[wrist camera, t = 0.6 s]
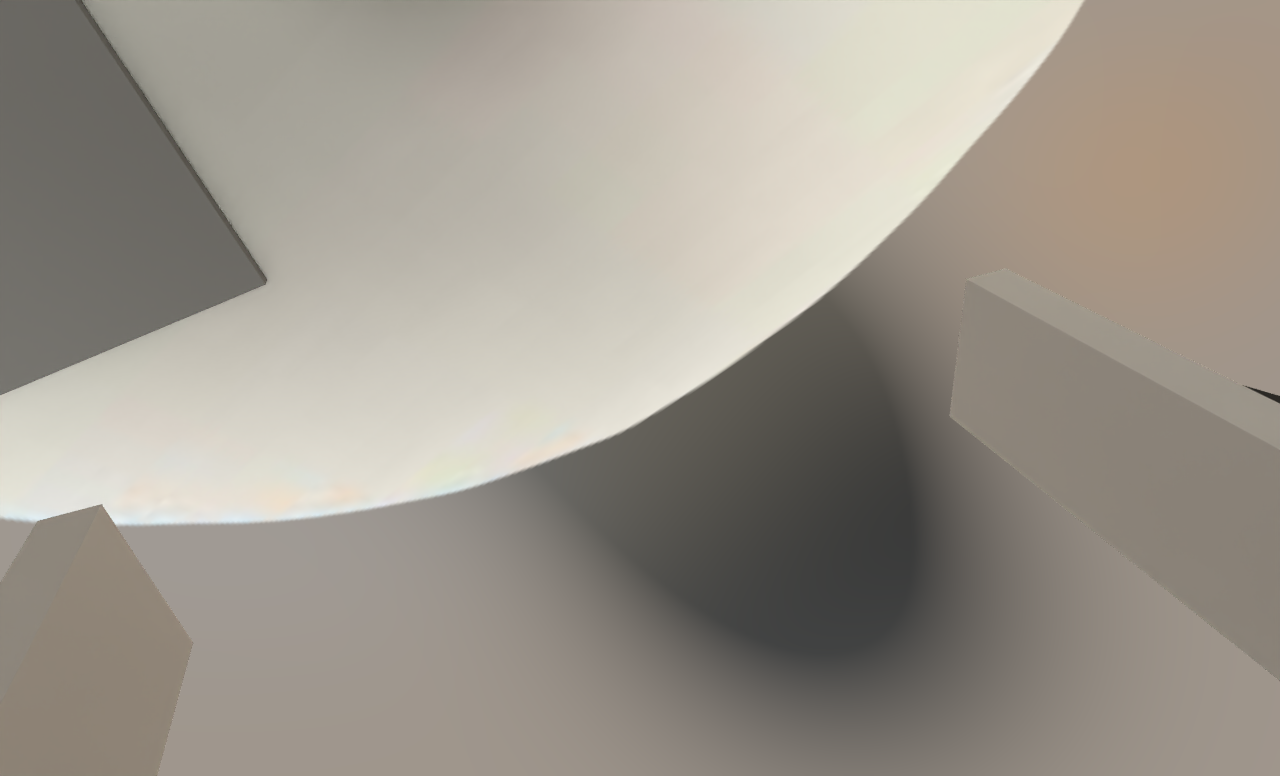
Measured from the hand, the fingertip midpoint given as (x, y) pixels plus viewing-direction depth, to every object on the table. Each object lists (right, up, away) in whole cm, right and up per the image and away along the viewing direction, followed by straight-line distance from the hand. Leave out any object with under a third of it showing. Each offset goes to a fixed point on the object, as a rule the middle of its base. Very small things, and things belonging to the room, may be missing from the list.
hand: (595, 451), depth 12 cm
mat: (-25, +9, +18) cm, 31 cm away
